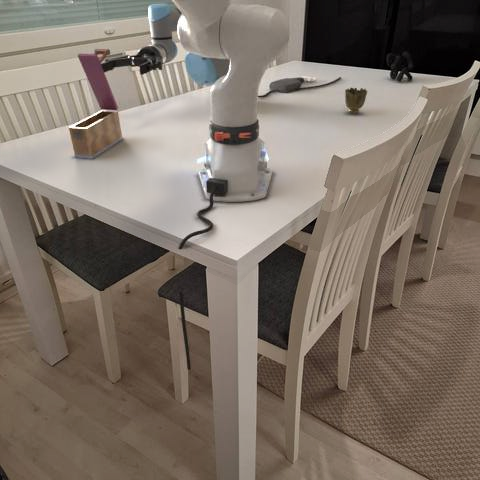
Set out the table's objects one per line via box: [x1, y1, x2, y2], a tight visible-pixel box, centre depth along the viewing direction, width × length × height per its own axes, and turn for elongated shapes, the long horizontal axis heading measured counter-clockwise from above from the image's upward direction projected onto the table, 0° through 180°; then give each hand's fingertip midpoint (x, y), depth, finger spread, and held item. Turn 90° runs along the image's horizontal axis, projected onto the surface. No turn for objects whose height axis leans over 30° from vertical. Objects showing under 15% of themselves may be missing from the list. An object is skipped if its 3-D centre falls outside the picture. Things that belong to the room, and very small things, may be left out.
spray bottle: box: [268, 75, 317, 93], centre depth 194 cm, size 3×11×24 cm
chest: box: [68, 109, 124, 160], centre depth 131 cm, size 17×6×9 cm, turn 163°
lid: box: [77, 48, 119, 111], centre depth 130 cm, size 18×6×8 cm
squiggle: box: [385, 51, 414, 83], centre depth 198 cm, size 11×10×15 cm
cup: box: [344, 87, 368, 115], centre depth 156 cm, size 8×7×8 cm
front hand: (80, 1), depth 116 cm, fingers open, 8 cm apart
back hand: (121, 69), depth 139 cm, fingers open, 13 cm apart
